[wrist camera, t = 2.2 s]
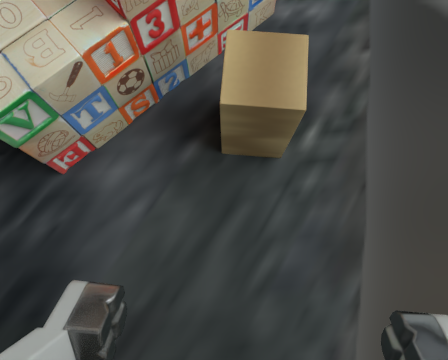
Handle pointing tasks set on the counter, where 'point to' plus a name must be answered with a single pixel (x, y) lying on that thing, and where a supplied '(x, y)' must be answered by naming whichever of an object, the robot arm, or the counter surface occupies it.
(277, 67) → the birch block
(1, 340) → the counter surface
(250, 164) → the counter surface
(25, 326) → the counter surface
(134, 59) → the stack of blocks
